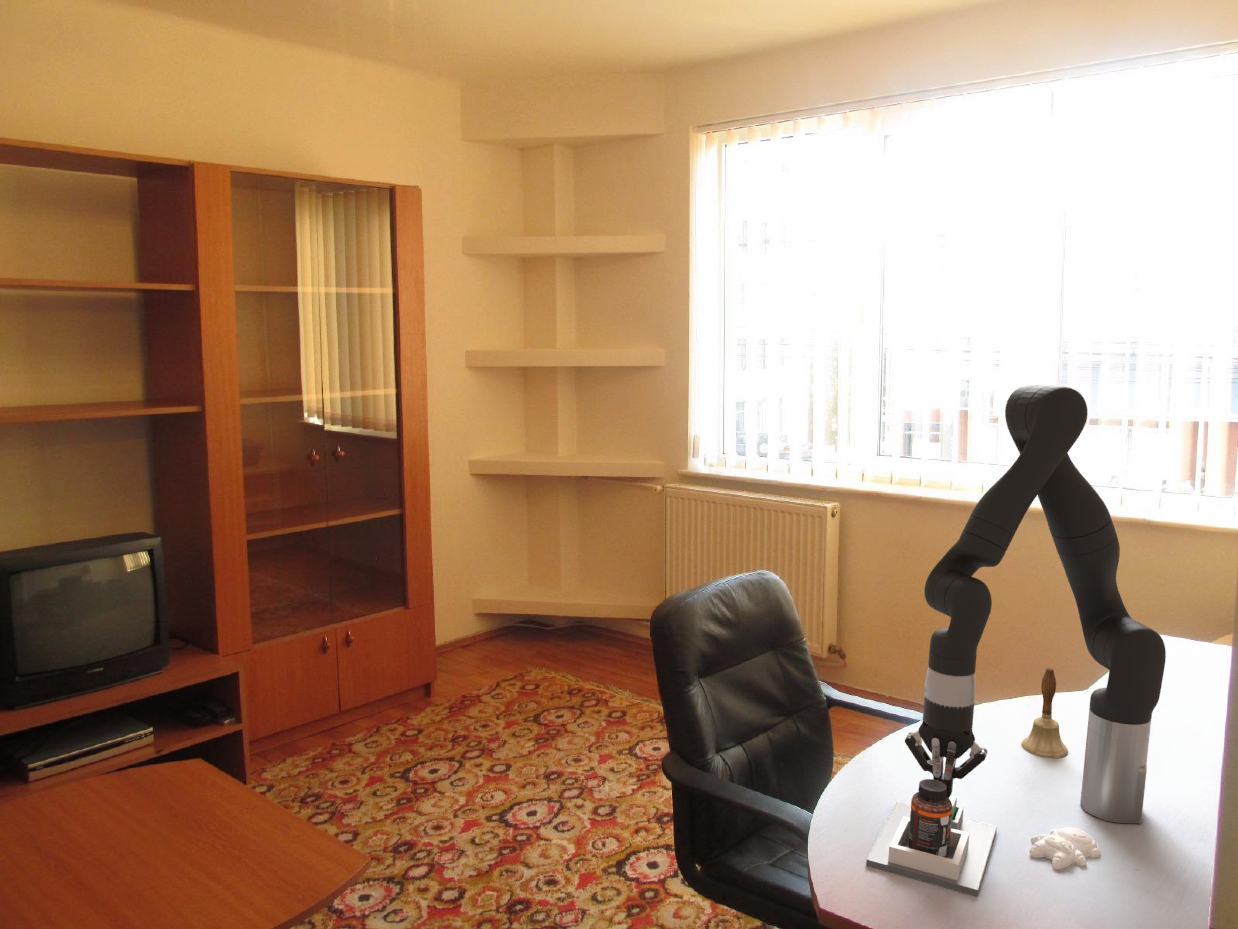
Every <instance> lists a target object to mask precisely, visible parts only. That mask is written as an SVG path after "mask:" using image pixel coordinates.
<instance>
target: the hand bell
mask: <svg viewBox="0 0 1238 929" xmlns="http://www.w3.org/2000/svg"><path fill="white" fill-rule="evenodd" d="M1040 687H1041V695H1042V698H1043V699H1042V700H1043V701H1042V702H1043V703H1042V710H1041V712H1042V713H1041V717H1037V718H1035V719H1034V720H1033V723H1032V728H1031V730H1030V733H1029V734H1028V736H1027V737H1025V738H1023V740H1022V741H1021V743H1020V745H1021V747H1022V748H1023V749H1024V750H1025V751H1027V752H1028V753H1030V754H1032V755H1034V756H1038V757H1044V758H1051V759H1054V758H1055V759H1058V758H1063V757H1066V756H1067V755H1068V753H1069V749H1068V748H1067V746H1066V744H1064V742H1063V741H1062V738H1061V734H1060V725H1059V722H1058V721H1057V720H1055V719H1053V716H1052V713H1053V712H1052V709H1053V700H1054V697H1055V694H1056V689H1057V680H1056V676H1055V671H1054V669H1053V668H1051V667H1050V668H1049V667H1047V668H1046V669H1045V672H1044V674H1043V675H1042V679H1041V686H1040Z"/></svg>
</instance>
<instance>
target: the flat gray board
mask: <svg viewBox="0 0 1238 929" xmlns="http://www.w3.org/2000/svg"><path fill="white" fill-rule="evenodd" d="M964 808H965V807H964V806H961V805H959V804H958V805H957V804H956V815H955V818H954V820H951V832H950V846H949V855H948V858H945V857H941V856H937V855H933V854H930V853H926V852H922V851H918V850H914V849H911V848H909V829H910V814H911V804H907V803H904V802H901V801H900V802H899V801H895V804H894V805H893V808H892V809H891V812H890V813H889V815H888V817H887V819H886V821H885V822H884V824H883V826H882V828H881V831H880V833H879V834H878V837H877V838H876V840H875V842H874V844H873V846H872V848H871V850H870V852H869V854H868V856H867V858H866V862H865V866H866V867H869V868H873V869H877V870H881V871H884V872H888V873H891V874H895V875H898V876H903V877H906V878H910V879H913V880H916V881H920V882H924V883H928V884H930V885H935V886H939V887H943V888H946V889H949V890H954V891H955V892H960V893H964V894H967V895H970V896H975V897H978V895H979V893H980V889H981V885H982V882H983V879H984V875H985V871H986V868H987V865H988V861H989V858H990V855H991V851H992V848H993V845H994V844H993V843H994V841H995V837H996V835H995V834H997V829H998V827H997V825H994V824H989V823H986V822H982V821H977V820H974V819H970V818H969V819H968V818H965V817H964Z"/></svg>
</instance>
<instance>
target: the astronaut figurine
mask: <svg viewBox="0 0 1238 929" xmlns="http://www.w3.org/2000/svg"><path fill="white" fill-rule="evenodd" d="M1030 841H1031V843H1032V845H1031V847H1030V848H1029V855H1030V856H1031V857H1032V856H1033V857H1032V858H1042V857H1041V856H1043V857H1045V858H1047V859H1049V860H1051V868H1052V869H1054V870H1060V869H1064V868H1066V867H1068V866H1070V865H1072V864H1076V865H1078V866H1080V867H1085V866H1086V865H1087V859H1086V857H1088V856H1089V857H1091V858H1099V857H1100V855H1101V851H1100V848H1099V847H1098V844H1097V842H1096V841H1095V839H1094V838H1093V837H1091V836H1090V835H1089V833H1087V832H1085V831H1083V830H1082V829H1079V828H1076V827H1072V826H1071V827H1068V826H1067V827H1061V828H1053V829H1051V830H1050V832H1049V834H1045V833H1043V834H1042V833H1040V834H1036V835H1034V836H1031V838H1030Z"/></svg>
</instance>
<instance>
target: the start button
mask: <svg viewBox="0 0 1238 929" xmlns="http://www.w3.org/2000/svg"><path fill="white" fill-rule="evenodd" d="M949 800H950V801H951V803H952V818H951V820H954V818H955V815H956V805H957V802H958V796H956V795H952V794H951V796H950V797H949Z"/></svg>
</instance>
